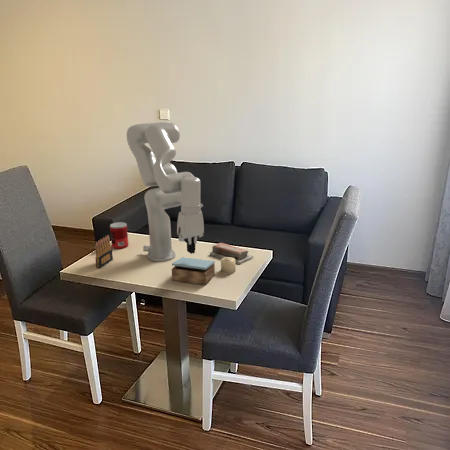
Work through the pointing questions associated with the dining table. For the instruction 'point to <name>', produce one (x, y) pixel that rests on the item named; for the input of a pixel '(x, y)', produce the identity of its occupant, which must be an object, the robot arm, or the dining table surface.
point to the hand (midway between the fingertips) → (191, 252)
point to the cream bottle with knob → (228, 265)
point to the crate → (193, 274)
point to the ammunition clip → (103, 252)
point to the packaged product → (230, 253)
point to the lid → (193, 263)
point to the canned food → (119, 235)
